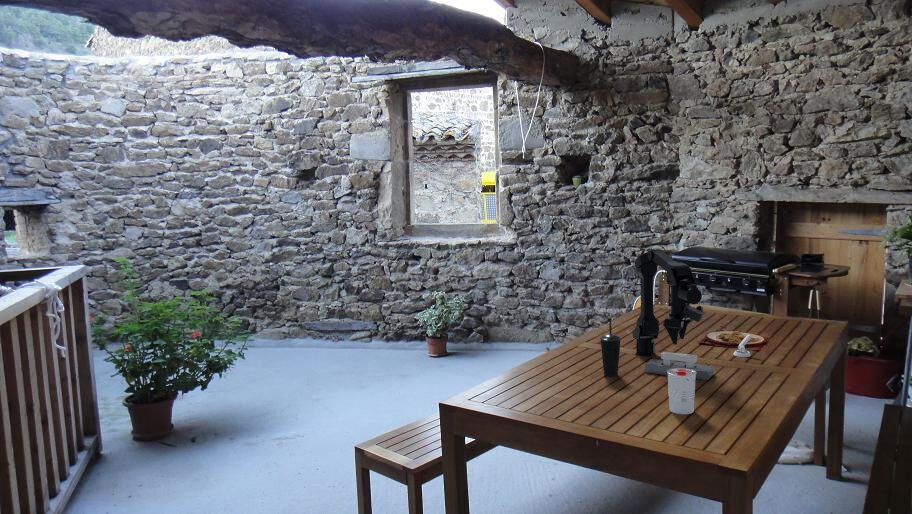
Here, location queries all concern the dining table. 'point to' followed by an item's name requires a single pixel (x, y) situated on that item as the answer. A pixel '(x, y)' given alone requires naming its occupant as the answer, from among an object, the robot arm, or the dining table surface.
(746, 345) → the plate with food
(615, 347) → the drinking cup
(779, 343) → the dining table surface
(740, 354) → the hook
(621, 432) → the dining table surface
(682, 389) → the white cylindrical container
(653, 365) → the rail
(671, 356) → the clip
